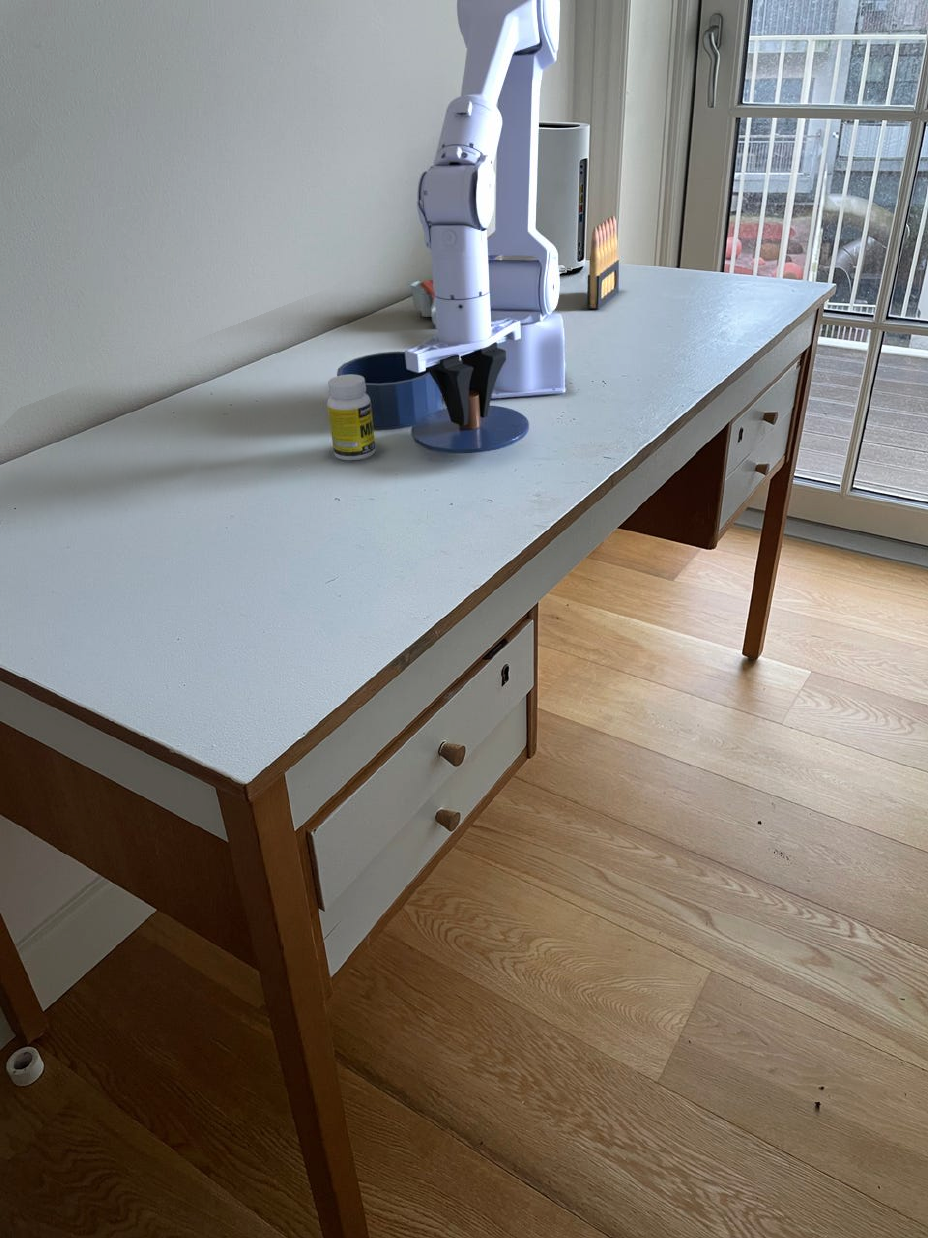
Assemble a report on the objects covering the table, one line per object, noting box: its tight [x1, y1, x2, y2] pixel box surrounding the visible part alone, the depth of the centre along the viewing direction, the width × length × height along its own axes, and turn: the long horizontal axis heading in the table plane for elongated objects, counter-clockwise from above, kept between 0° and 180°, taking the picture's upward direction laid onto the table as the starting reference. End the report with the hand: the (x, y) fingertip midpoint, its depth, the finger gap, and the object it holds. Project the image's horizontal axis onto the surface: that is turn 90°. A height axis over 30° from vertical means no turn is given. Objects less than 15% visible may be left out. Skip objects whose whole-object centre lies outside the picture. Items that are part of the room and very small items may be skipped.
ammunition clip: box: [586, 214, 620, 311], centre depth 152 cm, size 11×2×12 cm, turn 155°
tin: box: [336, 351, 443, 430], centre depth 119 cm, size 12×12×5 cm
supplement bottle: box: [326, 375, 377, 461], centre depth 107 cm, size 5×5×8 cm
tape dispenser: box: [410, 279, 437, 329], centre depth 149 cm, size 18×5×20 cm
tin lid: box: [410, 391, 530, 454], centre depth 107 cm, size 13×13×5 cm
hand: (469, 418), depth 107 cm, fingers closed on tin lid, 2 cm apart
